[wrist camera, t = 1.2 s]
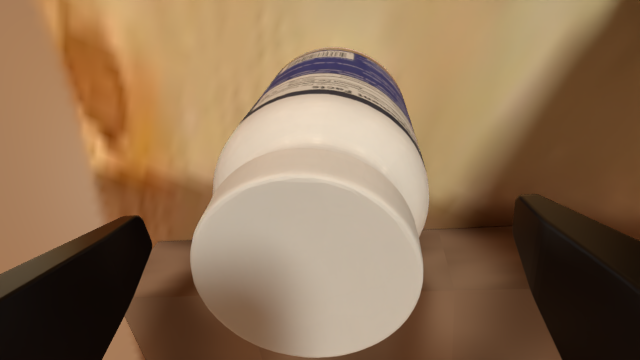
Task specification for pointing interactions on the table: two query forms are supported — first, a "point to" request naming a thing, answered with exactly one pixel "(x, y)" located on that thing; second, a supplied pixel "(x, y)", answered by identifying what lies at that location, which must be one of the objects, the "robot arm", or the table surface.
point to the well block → (397, 349)
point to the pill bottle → (316, 212)
